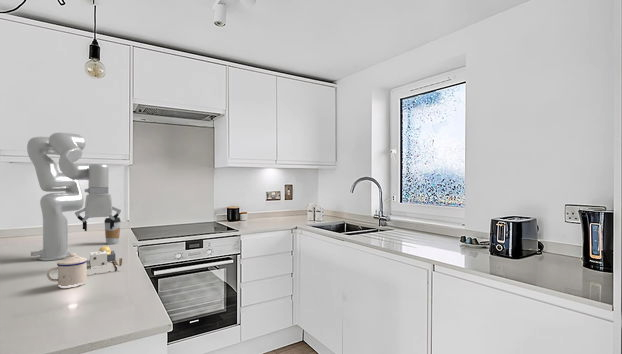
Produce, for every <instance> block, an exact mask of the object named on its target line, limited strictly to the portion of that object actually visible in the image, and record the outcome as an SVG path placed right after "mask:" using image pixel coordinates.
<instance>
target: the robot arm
mask: <svg viewBox="0 0 622 354" xmlns="http://www.w3.org/2000/svg"><path fill="white" fill-rule="evenodd" d="M85 148H86V139H85V138H84V137H83V136H82V135H80V134H78V133H77V134H76V133H71V132H70V133H69V132H55V133H52V134H50V136H34V137H32V138H30V139H29V140H28V141H27V145H26V149H27V150H26V151H27V155H28V157H29V159H30V162H31V163H32V164H33V166H34V170H35V173H36V174H35V175H36V177H37V182H38V185H39V187H40V188H39V189H41V190H42V191H43V192H45V193H46V192H47V193H46V194H44V195H43V196H41V198H40V201H39V205H40V209H41V213H42V249H40V250H38V251H30V256H31V257H32V256H33V257H36V256H38V260H39V261H45V262H47V261H59V260H63V259H65V258H66V257H69V254H71V253H72V252H68V241H69V239H68V235H69V234H68V232H69V231H68V228H69V227H68V226H69V225H68V219H67V217H66V216H65V215H64V214H63V213H65V212H74V215H75V217H76V218H77V219H78V220H79V221H80V222H82V230H84V232H87V231H88V227H87V225H88V222H87V221H88V219H89V218H92V219H93V218H111V220H110V229H112V227H114V220H115V219H116V218H117V217H119V215H120V213H121V212H122V210H121V209H119V208H117V207H114V206H113V201H112V196H111V193H109V165H108V164H105V163H85V162H83V163H81V162H77V161H78V160H80V159H81V157H82V155H83V151H84V149H85ZM49 155H58V156H59V159H58V167H59V170H60V171H59V170H58V167H57V164H56V162H55V161H54V160H53V159H52V158H51V157H50V156H49ZM79 181H88V188H84V193H87V194H86V196H85V201H84V196H83V193H82V189H81V185H80V182H79ZM48 192H49V193H48ZM83 207H84V208H83ZM113 211H115V212H116V213H115V214H114V215H113ZM83 212H84V217H83V216H81V213H83Z"/></svg>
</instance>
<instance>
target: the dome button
mask: <svg viewBox="0 0 622 354" xmlns="http://www.w3.org/2000/svg"><path fill="white" fill-rule="evenodd" d="M99 251H106V252H107V254H111V251H112V250H111V248H110V247H109V246H108V245H107V246H106V245H104V246H101V247H100V248H99V249H98V252H99Z"/></svg>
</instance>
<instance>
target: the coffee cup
mask: <svg viewBox="0 0 622 354" xmlns="http://www.w3.org/2000/svg"><path fill="white" fill-rule="evenodd" d="M104 218H105V219H104V222H103V223H104V231H105V233H104V235H105V243H106V245H117V244H119V242H120V233H121V218H120V217H119V216H118V217H117V218H116V219H115V220H114V227H112V229H110V220H111V218H110V217H104Z"/></svg>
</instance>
